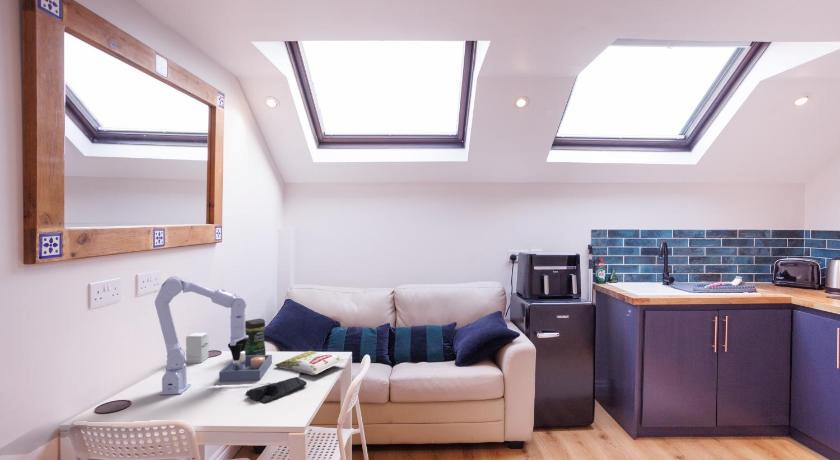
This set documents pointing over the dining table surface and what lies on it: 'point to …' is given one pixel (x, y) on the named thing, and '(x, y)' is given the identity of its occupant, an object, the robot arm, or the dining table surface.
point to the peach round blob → (257, 362)
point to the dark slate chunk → (275, 390)
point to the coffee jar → (255, 337)
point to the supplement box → (196, 347)
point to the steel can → (240, 362)
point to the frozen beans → (310, 362)
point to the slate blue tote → (245, 370)
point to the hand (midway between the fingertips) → (238, 358)
